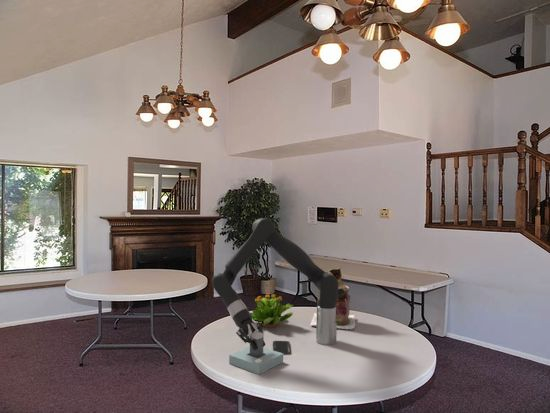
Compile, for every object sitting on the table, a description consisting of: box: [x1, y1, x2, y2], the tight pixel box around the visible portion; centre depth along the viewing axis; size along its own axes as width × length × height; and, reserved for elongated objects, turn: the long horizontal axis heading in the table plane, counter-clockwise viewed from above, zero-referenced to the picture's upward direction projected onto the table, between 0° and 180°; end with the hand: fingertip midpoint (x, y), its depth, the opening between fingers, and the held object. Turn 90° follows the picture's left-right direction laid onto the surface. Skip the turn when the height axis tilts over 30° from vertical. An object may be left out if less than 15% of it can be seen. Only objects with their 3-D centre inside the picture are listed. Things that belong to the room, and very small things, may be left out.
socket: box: [228, 346, 284, 375], centre depth 159 cm, size 16×16×4 cm
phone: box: [272, 340, 291, 355], centre depth 177 cm, size 8×1×15 cm
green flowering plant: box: [250, 293, 294, 328], centre depth 212 cm, size 25×24×18 cm
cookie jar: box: [310, 266, 356, 331], centre depth 219 cm, size 25×25×32 cm
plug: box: [249, 331, 265, 358], centre depth 159 cm, size 4×4×10 cm
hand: (260, 347), depth 158 cm, fingers closed on plug, 4 cm apart
